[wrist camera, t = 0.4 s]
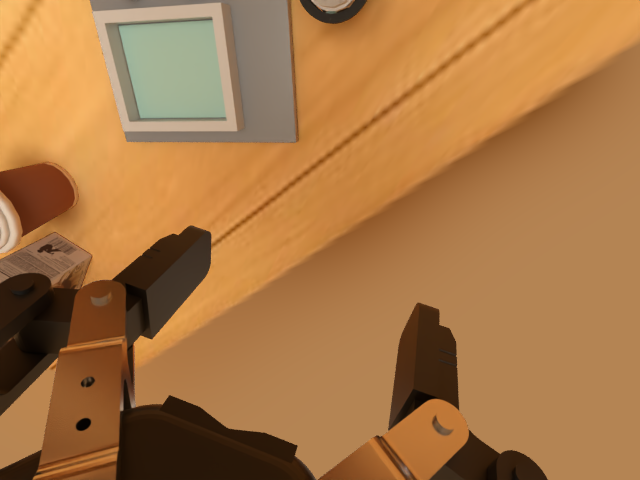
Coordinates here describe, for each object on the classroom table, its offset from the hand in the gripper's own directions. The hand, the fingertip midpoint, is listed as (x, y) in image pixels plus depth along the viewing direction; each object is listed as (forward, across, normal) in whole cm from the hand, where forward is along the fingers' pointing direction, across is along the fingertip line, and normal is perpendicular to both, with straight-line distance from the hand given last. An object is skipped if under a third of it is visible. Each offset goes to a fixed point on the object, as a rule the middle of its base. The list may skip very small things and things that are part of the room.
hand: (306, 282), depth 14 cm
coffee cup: (+24, +39, +20) cm, 49 cm away
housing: (+27, +20, 0) cm, 33 cm away
